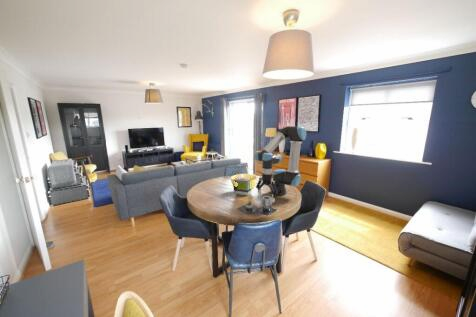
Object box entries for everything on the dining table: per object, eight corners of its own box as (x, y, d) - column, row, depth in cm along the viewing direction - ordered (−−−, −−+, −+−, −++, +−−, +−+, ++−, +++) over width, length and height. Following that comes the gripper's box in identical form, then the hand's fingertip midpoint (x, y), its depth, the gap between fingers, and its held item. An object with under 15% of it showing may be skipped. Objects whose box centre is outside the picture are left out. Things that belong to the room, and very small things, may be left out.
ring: (265, 200, 163) (265, 195, 162) (273, 203, 157) (273, 197, 156) (259, 203, 158) (259, 197, 157) (267, 206, 152) (267, 200, 151)
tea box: (251, 192, 197) (251, 178, 194) (247, 196, 188) (247, 181, 185) (237, 190, 203) (237, 176, 200) (233, 193, 194) (233, 179, 191)
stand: (265, 205, 167) (265, 194, 165) (277, 210, 158) (277, 199, 156) (255, 210, 159) (255, 198, 157) (267, 215, 150) (267, 203, 148)
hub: (249, 203, 171) (249, 193, 169) (261, 209, 161) (261, 197, 159) (237, 208, 162) (237, 197, 160) (249, 214, 152) (249, 203, 150)
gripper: (251, 171, 159) (251, 196, 163) (277, 177, 141) (276, 205, 145) (258, 169, 164) (257, 193, 168) (283, 175, 146) (282, 202, 150)
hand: (266, 199), depth 156 cm, fingers open, 13 cm apart
